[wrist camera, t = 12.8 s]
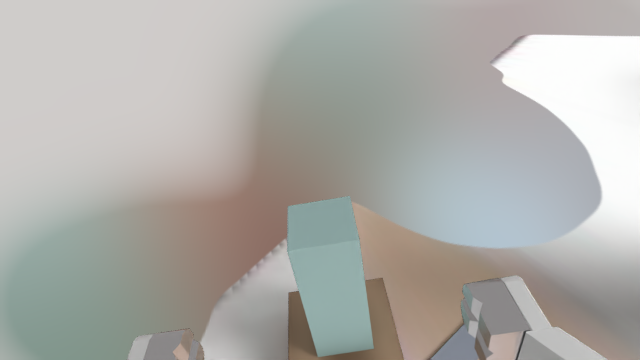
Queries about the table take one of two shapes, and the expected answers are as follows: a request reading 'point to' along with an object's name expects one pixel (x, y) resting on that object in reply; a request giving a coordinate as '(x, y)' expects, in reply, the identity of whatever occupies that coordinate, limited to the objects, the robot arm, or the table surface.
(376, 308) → the base block
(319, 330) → the pillar
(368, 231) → the table surface
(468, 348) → the blueprint tile
